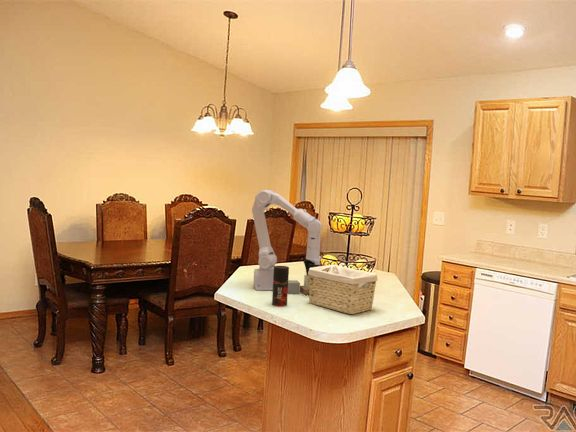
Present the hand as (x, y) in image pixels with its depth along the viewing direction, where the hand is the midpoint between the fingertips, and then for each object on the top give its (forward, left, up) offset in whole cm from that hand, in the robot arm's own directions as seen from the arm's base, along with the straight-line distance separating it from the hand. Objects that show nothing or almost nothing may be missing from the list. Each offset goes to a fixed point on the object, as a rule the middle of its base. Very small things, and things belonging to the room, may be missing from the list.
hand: (311, 278), depth 214 cm
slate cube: (-8, +1, -7) cm, 11 cm away
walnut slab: (0, 0, -7) cm, 7 cm away
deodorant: (-18, -18, -7) cm, 26 cm away
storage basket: (+6, -21, -7) cm, 23 cm away
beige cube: (0, 0, -4) cm, 4 cm away
